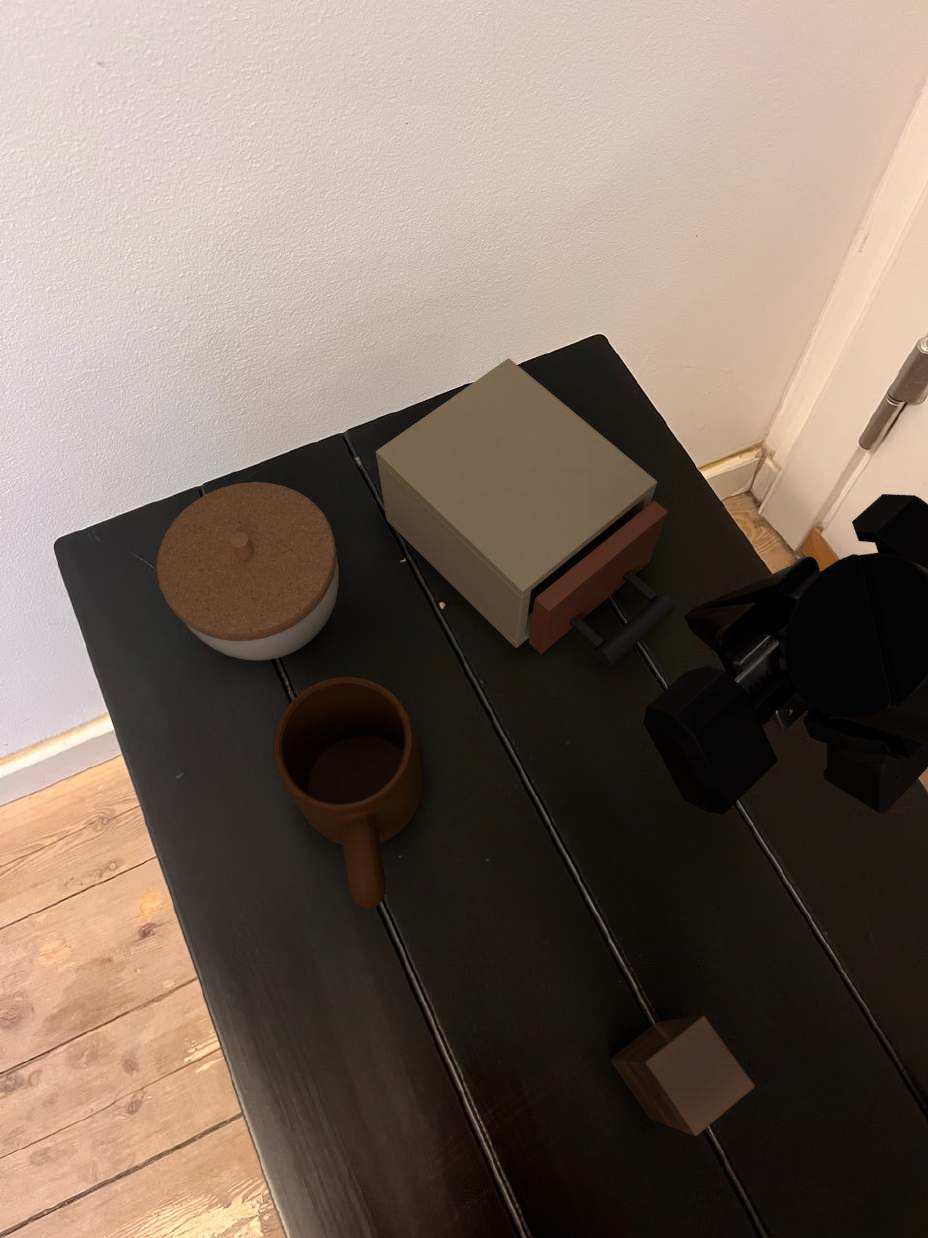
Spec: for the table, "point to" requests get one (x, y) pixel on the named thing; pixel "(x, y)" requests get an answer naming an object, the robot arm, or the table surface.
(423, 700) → the table surface
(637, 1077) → the post
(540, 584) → the drawer
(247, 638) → the trinket box
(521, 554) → the cabinet
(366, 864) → the mug
